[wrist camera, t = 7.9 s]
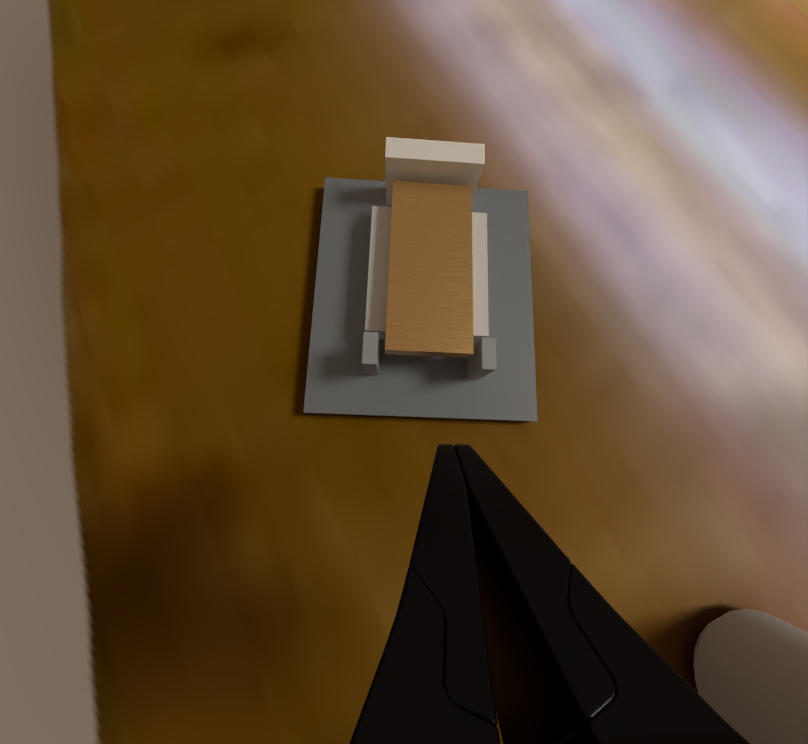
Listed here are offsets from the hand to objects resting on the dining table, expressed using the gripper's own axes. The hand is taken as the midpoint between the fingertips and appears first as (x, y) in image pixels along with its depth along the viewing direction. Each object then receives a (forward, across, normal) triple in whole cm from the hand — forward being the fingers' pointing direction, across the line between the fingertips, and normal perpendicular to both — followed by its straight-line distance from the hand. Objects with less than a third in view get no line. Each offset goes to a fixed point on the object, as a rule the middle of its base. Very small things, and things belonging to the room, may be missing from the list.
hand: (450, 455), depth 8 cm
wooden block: (+10, -1, +3) cm, 10 cm away
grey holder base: (+16, -1, +1) cm, 16 cm away
